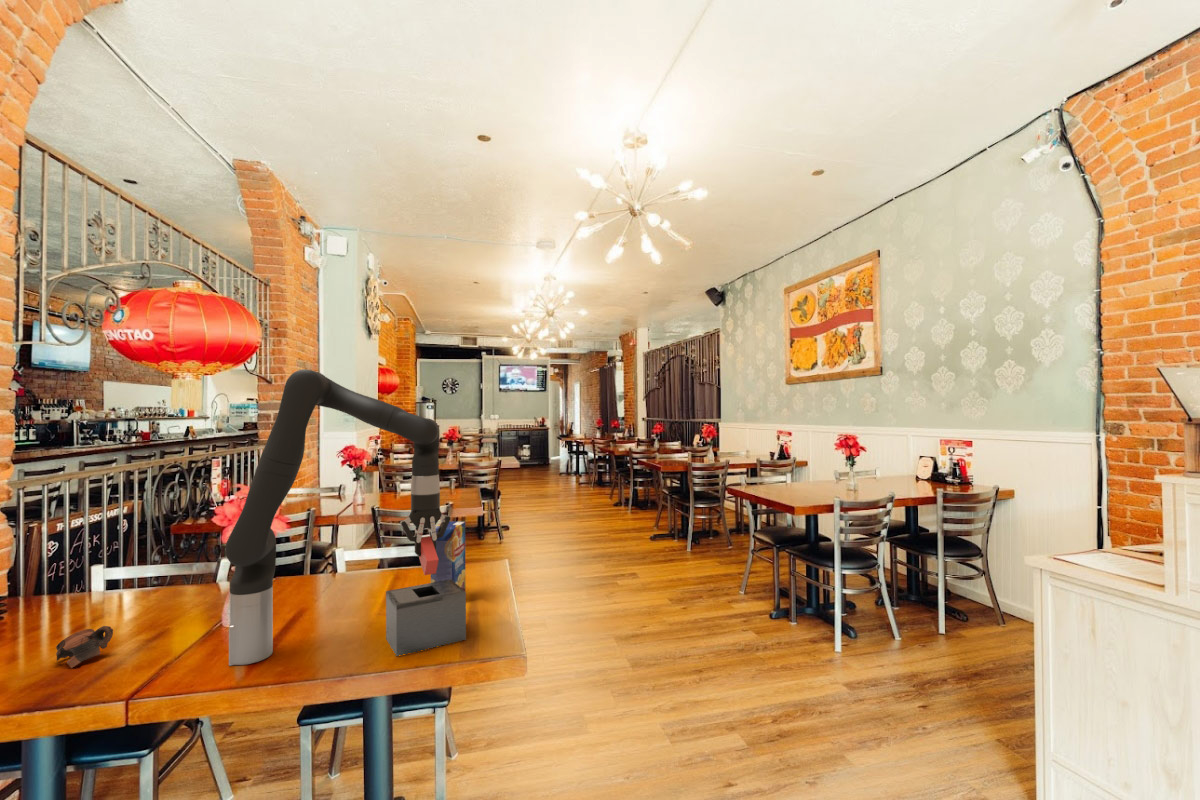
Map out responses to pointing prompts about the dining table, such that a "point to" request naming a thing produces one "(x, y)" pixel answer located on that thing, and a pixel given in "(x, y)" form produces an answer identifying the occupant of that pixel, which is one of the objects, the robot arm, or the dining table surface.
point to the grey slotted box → (425, 616)
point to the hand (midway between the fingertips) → (425, 554)
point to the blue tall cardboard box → (451, 555)
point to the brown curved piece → (83, 645)
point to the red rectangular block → (428, 556)
